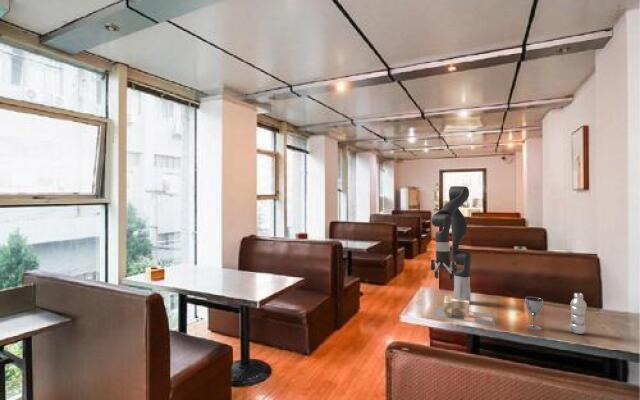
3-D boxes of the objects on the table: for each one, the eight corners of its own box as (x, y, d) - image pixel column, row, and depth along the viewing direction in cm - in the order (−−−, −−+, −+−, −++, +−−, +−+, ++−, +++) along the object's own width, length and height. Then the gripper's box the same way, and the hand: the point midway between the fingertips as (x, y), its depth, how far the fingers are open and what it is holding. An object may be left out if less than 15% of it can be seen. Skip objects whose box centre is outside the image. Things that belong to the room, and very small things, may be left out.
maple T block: (443, 316, 185) (444, 302, 185) (444, 308, 198) (444, 295, 198) (469, 320, 180) (469, 305, 180) (468, 312, 193) (468, 298, 193)
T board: (434, 318, 185) (434, 316, 185) (436, 308, 201) (436, 306, 201) (495, 327, 173) (495, 325, 173) (492, 316, 190) (492, 314, 190)
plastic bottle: (565, 330, 170) (566, 291, 170) (578, 330, 171) (579, 291, 171) (576, 335, 164) (577, 295, 164) (589, 335, 164) (590, 295, 164)
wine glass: (540, 325, 176) (540, 297, 176) (544, 331, 169) (545, 302, 169) (523, 323, 179) (523, 296, 179) (526, 329, 171) (527, 300, 171)
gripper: (458, 250, 183) (459, 279, 182) (434, 248, 194) (435, 276, 193) (451, 251, 178) (453, 282, 177) (427, 249, 189) (428, 278, 188)
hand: (444, 279), depth 185 cm, fingers open, 8 cm apart
